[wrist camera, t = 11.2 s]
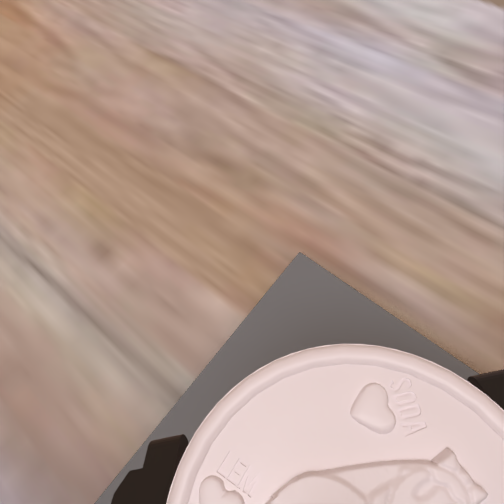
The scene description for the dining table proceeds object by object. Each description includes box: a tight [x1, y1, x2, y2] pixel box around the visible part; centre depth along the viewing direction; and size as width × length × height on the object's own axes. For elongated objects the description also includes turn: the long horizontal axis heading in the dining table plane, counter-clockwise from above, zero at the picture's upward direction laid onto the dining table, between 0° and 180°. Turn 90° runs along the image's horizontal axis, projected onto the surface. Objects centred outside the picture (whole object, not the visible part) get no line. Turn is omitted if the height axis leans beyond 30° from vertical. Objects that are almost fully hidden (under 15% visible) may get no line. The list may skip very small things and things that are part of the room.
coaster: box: [94, 252, 479, 504], centre depth 16 cm, size 13×13×1 cm
